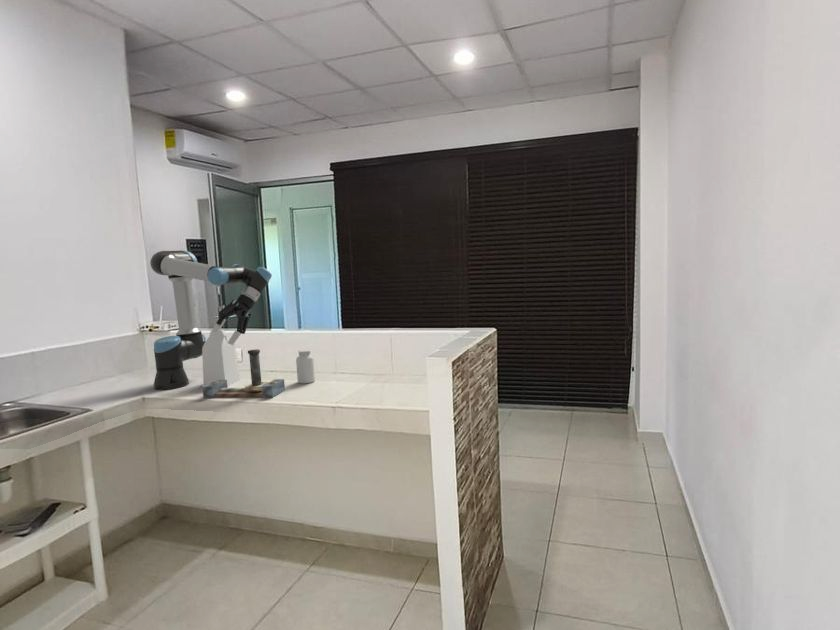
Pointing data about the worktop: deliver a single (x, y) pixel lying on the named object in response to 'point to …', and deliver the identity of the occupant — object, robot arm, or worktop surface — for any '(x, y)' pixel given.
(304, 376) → the pill bottle
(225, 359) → the milk
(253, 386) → the dark grey post
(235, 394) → the rail track
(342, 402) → the worktop surface
